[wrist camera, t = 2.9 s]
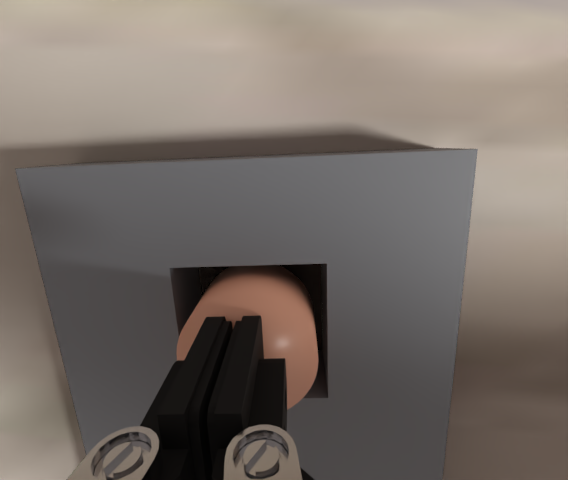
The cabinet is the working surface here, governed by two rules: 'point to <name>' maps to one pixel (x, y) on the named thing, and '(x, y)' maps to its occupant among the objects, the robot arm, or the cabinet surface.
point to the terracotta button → (264, 318)
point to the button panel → (267, 251)
